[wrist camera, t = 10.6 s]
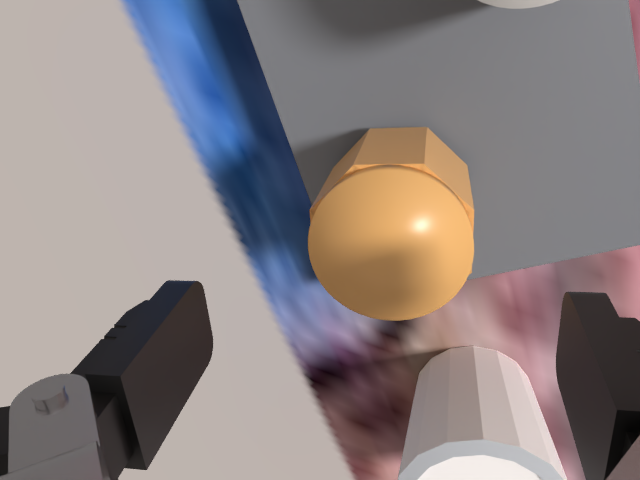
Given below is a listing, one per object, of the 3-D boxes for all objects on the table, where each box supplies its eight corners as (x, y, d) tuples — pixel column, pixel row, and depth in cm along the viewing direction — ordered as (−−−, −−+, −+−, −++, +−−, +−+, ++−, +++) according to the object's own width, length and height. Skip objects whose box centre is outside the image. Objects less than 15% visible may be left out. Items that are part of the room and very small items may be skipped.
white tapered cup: (576, 397, 27) (616, 521, 21) (470, 464, 30) (479, 591, 24) (473, 309, 26) (484, 411, 20) (375, 387, 29) (358, 498, 23)
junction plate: (228, -97, 21) (108, -140, 13) (566, -252, 18) (665, -432, 10) (356, 271, 27) (323, 389, 19) (634, 210, 23) (732, 325, 15)
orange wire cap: (331, 129, 20) (301, 171, 16) (468, 125, 19) (477, 169, 15) (338, 249, 22) (314, 317, 18) (464, 251, 21) (471, 323, 17)
